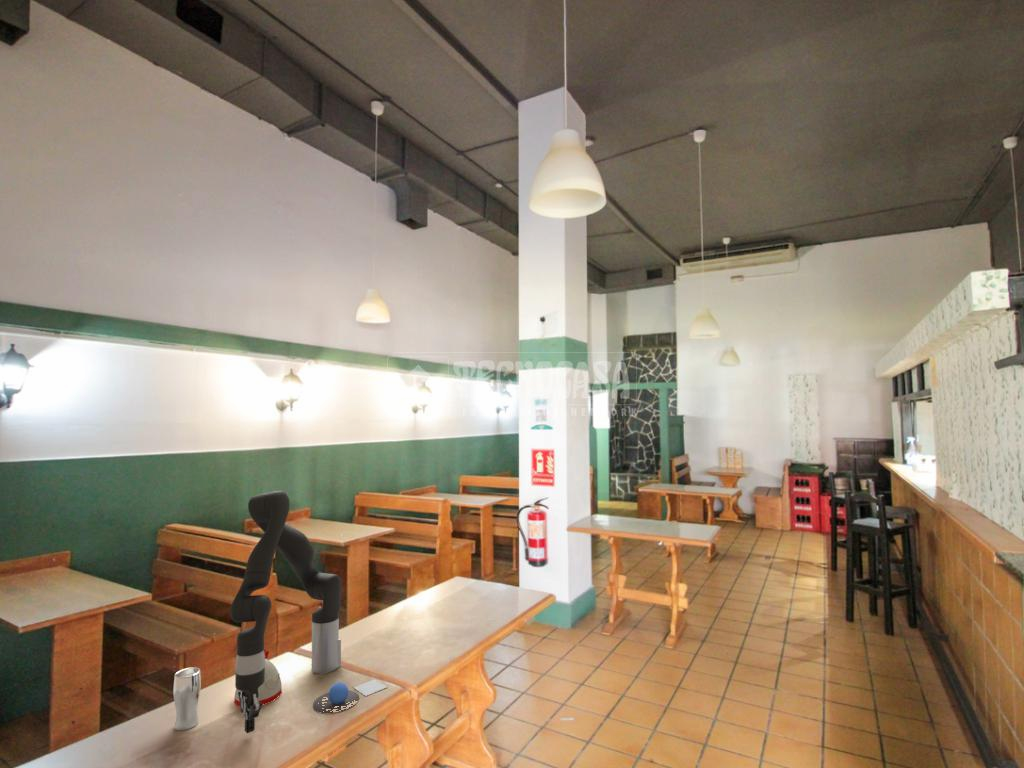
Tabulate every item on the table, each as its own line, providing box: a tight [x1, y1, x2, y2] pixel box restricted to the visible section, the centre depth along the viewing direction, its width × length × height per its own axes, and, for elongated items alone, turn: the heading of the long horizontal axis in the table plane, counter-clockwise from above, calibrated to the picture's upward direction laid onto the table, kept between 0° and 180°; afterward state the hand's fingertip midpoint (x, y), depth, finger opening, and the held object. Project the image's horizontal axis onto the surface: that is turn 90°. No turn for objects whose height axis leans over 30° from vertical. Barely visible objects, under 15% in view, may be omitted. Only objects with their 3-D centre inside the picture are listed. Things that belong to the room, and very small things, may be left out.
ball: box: [328, 681, 349, 704], centre depth 169 cm, size 6×6×6 cm
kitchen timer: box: [234, 648, 283, 708], centre depth 174 cm, size 14×14×15 cm
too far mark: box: [353, 679, 388, 697], centre depth 178 cm, size 8×8×1 cm
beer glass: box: [172, 667, 202, 732], centre depth 158 cm, size 7×7×15 cm
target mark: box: [312, 689, 360, 714], centre depth 169 cm, size 14×14×1 cm
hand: (249, 731), depth 151 cm, fingers closed
